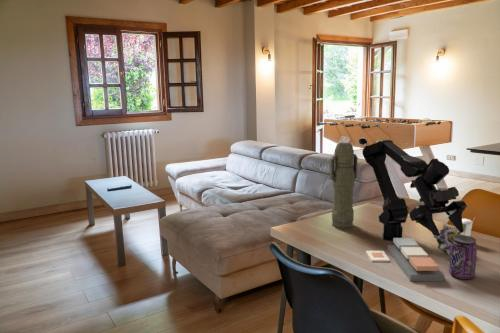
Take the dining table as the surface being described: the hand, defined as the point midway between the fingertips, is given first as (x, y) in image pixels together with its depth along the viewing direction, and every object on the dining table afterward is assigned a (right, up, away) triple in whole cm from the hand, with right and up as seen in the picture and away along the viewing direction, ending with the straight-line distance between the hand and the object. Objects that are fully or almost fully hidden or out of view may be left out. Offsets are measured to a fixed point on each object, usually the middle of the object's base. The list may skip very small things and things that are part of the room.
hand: (450, 233), depth 130 cm
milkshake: (+17, -7, +23) cm, 29 cm away
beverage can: (+2, -13, -3) cm, 13 cm away
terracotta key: (-10, -9, -3) cm, 14 cm away
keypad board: (-10, -11, +6) cm, 16 cm away
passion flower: (+6, -9, +16) cm, 19 cm away
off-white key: (-10, -8, +5) cm, 13 cm away
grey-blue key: (-9, -6, +13) cm, 17 cm away
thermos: (-24, -4, +45) cm, 51 cm away
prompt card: (-19, -10, +12) cm, 25 cm away
